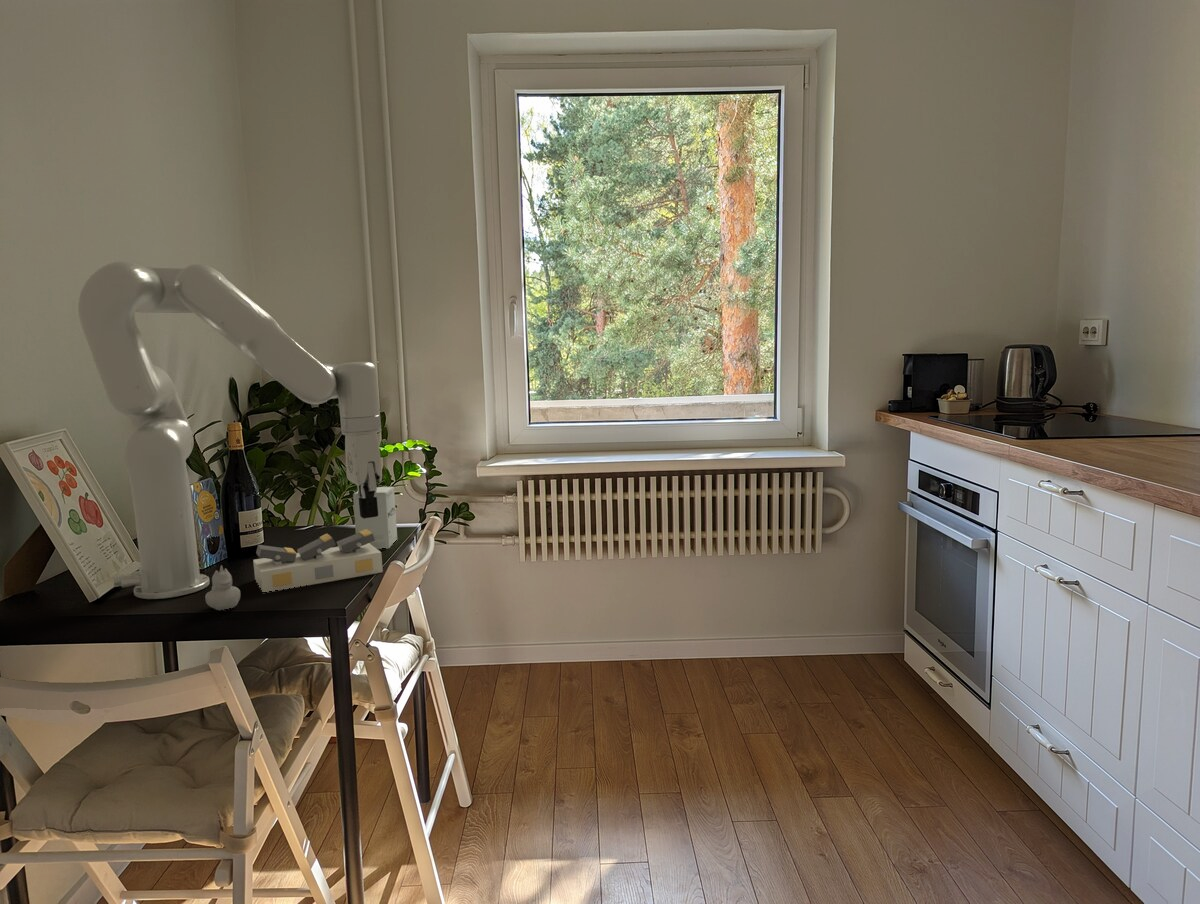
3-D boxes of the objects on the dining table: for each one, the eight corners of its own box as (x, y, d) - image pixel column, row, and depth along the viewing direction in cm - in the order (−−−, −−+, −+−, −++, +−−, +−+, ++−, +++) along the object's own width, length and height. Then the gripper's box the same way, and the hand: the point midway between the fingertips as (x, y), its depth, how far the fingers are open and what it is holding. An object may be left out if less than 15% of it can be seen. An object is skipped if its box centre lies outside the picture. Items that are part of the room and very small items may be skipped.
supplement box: (389, 549, 176) (385, 492, 174) (355, 550, 176) (351, 493, 175) (398, 540, 184) (394, 486, 182) (366, 541, 184) (362, 486, 182)
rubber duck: (214, 616, 136) (209, 570, 135) (201, 608, 141) (196, 563, 139) (247, 608, 139) (242, 563, 138) (233, 600, 144) (228, 556, 143)
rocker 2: (304, 561, 154) (300, 553, 153) (300, 556, 157) (296, 548, 157) (336, 545, 156) (332, 537, 156) (331, 540, 160) (327, 532, 160)
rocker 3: (344, 553, 157) (341, 545, 157) (338, 548, 161) (335, 540, 161) (375, 540, 160) (372, 532, 160) (369, 536, 164) (366, 528, 164)
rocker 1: (259, 557, 149) (261, 548, 149) (255, 552, 153) (258, 543, 153) (295, 562, 153) (297, 553, 153) (290, 557, 157) (292, 548, 157)
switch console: (263, 593, 148) (260, 569, 147) (255, 579, 156) (252, 556, 156) (383, 572, 158) (381, 549, 158) (369, 560, 167) (367, 539, 167)
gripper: (333, 424, 163) (341, 513, 166) (351, 430, 150) (359, 526, 153) (370, 420, 167) (378, 508, 169) (391, 426, 154) (398, 520, 157)
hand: (369, 516), depth 161 cm, fingers closed
